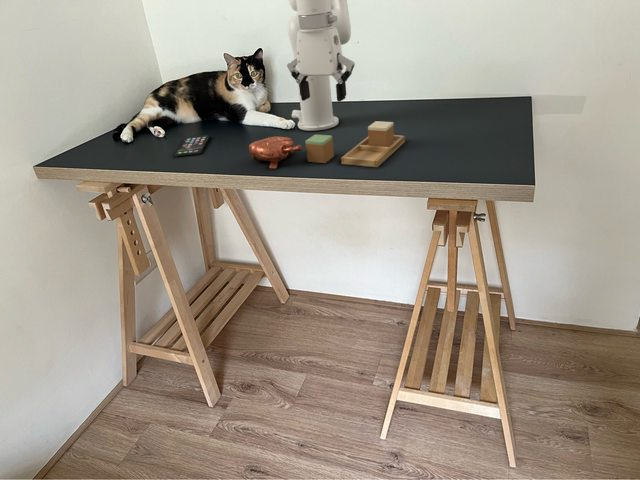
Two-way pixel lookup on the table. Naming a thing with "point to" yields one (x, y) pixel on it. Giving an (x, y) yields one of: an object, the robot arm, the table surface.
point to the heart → (273, 149)
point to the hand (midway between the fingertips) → (323, 99)
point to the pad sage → (319, 148)
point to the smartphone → (192, 145)
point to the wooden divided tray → (371, 153)
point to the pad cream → (381, 134)
